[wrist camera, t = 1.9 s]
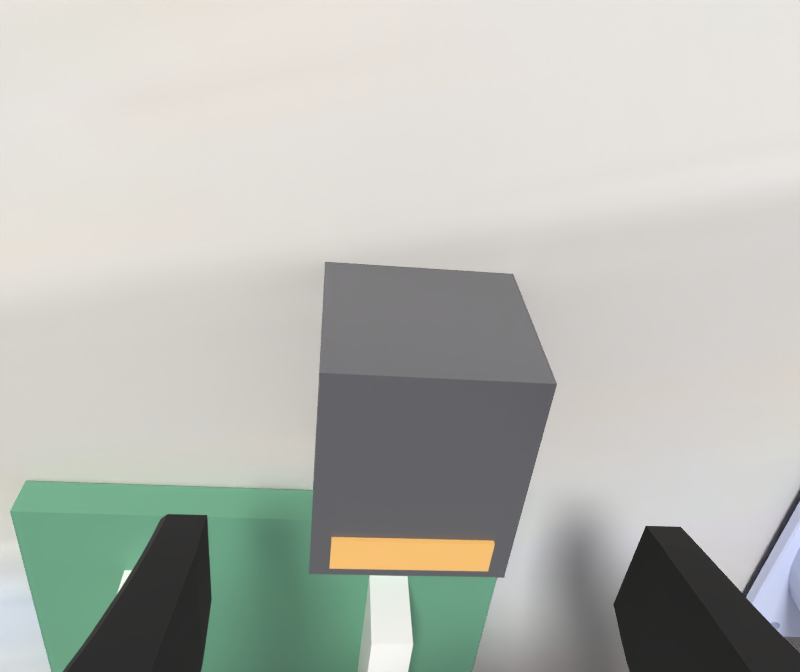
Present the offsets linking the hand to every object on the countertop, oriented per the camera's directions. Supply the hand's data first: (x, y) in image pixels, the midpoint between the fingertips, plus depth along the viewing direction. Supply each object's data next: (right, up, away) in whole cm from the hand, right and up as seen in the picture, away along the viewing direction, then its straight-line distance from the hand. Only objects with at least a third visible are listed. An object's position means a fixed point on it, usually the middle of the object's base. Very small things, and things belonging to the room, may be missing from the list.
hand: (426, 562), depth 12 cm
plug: (0, +3, +5) cm, 6 cm away
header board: (-4, -6, +10) cm, 13 cm away
